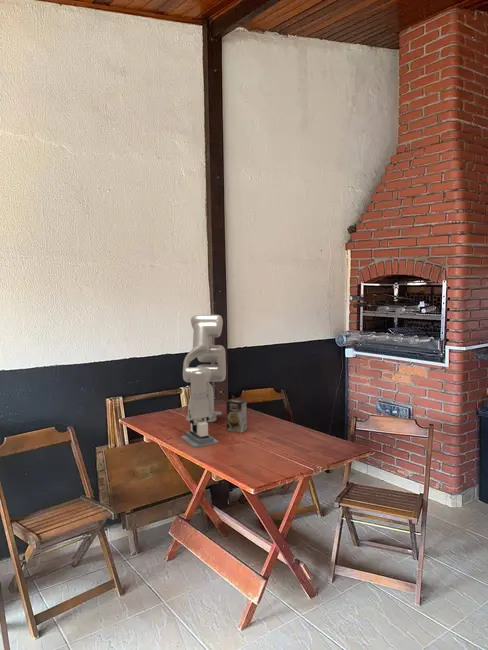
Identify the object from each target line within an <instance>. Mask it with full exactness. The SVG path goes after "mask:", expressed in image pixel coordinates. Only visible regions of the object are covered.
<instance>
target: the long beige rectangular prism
mask: <svg viewBox="0 0 488 650" xmlns="http://www.w3.org/2000/svg"><path fill="white" fill-rule="evenodd" d="M190 419H191V418H190ZM191 420H192V419H191ZM196 425H197V433H196V434H197V435H199V436H200V437H202V436H208V435H209V422H208V423H206V422H204V421H203V420H201V419H197V420H196ZM190 431H192V432H193V430H192V424H191V423H190ZM194 433H195V432H194Z"/></svg>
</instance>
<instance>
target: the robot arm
mask: <svg viewBox="0 0 488 650" xmlns="http://www.w3.org/2000/svg"><path fill="white" fill-rule="evenodd" d="M190 324H191V327H192V329H193V336H192V348H191V350H190V351H189V352H188V353H187V354H186V356H185V357H184V360H183V362H182V363H183V364H182V365H183V366H182V379H183V381H184V382H186V383H190V398H189V399H188V406H187V415H186V416H185V420H186V421H187V422H189V423H190V425H191V424H192V430H193V432H195V433H197V425H196V420H197V419H201V420H203V421H204V422H206V423H208V424H209V423H213V422H216V421H217V418H218V417H217V416H222V415H223V414H222V413H223V412H222V411H218V410H216V411H215V410H214V409H215V407H214V403H215V402H214V400H215V398H214V397H215V396H214V388H213V386H212V383H211V382H218V383H219V382H224V381H225V380H226V378H227V377H226V376H227V363H226V362H227V361H226V349H225V347H224V346H223V345H221V344H217V345H216V344H213V338H219V337H221V335H222V331H223V324H224V320H223V317H222V315H219V314H195V315H193V316H192V317H191V318H190ZM196 358H197V360H198V362H200V363H206V364H198V365H197V366H196V367H194V366H193V367H190V364H191V362H192V361H193V360H195V359H196ZM207 363H209V364H207ZM210 363H216V364H210ZM191 419H192V420H191Z"/></svg>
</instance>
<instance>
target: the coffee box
mask: <svg viewBox="0 0 488 650" xmlns="http://www.w3.org/2000/svg"><path fill="white" fill-rule="evenodd" d="M246 430H247V400H244V399H240V398H239V399H238V398H237V399H236V398H230V399H228V400H226V431H228V432H234V433H239V434H240V433H243V432H245V431H246Z"/></svg>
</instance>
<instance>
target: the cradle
mask: <svg viewBox="0 0 488 650" xmlns="http://www.w3.org/2000/svg"><path fill="white" fill-rule="evenodd" d="M180 439H182V440H183V441H184V442H185V443H187V444H189V445H190V446H191V447H193V448H195V449H196V448H201V447H207V446H211V445H216V444H219V443H220V441H219V440H218V439H216V438H214V437H213V436H211V435H210V434H208V436H202V437H200V436H199V435H197V434H196V433H194V432H192V431H191V430H190V431H189V430H188V431H185V435H181V436H180Z"/></svg>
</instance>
